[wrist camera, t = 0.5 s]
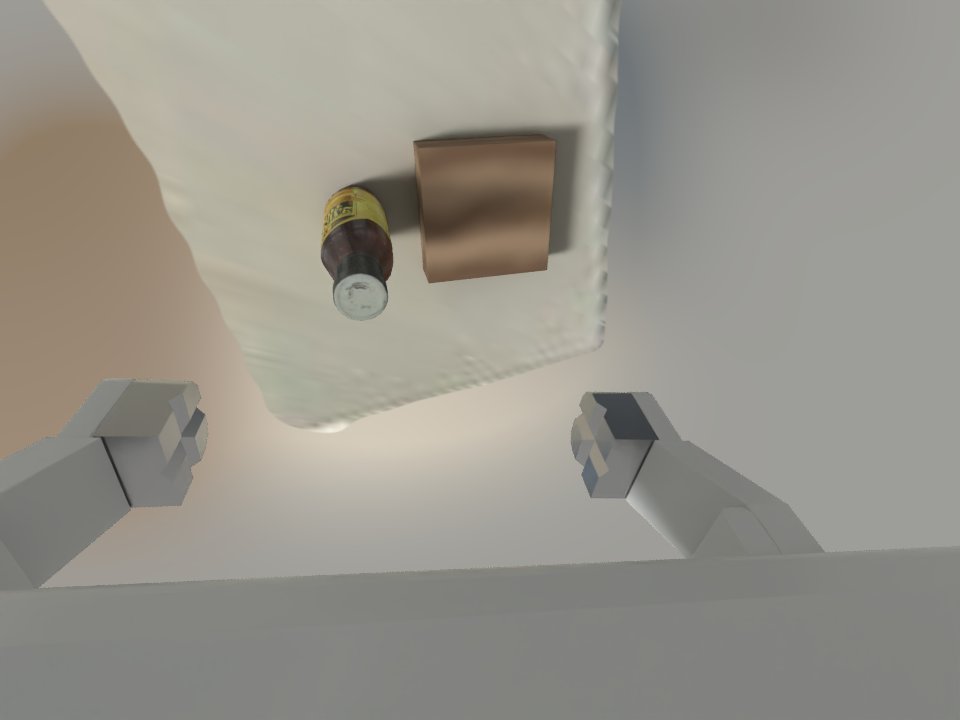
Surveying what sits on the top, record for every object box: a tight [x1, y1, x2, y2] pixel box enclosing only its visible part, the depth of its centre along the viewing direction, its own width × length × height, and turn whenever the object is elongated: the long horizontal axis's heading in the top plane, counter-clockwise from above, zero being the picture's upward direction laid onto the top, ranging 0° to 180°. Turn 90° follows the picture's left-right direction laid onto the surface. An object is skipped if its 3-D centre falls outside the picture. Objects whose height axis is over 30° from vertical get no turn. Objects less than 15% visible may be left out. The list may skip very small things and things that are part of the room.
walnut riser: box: [413, 135, 556, 283], centre depth 53 cm, size 14×14×4 cm
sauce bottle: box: [321, 186, 393, 321], centre depth 44 cm, size 7×6×20 cm
